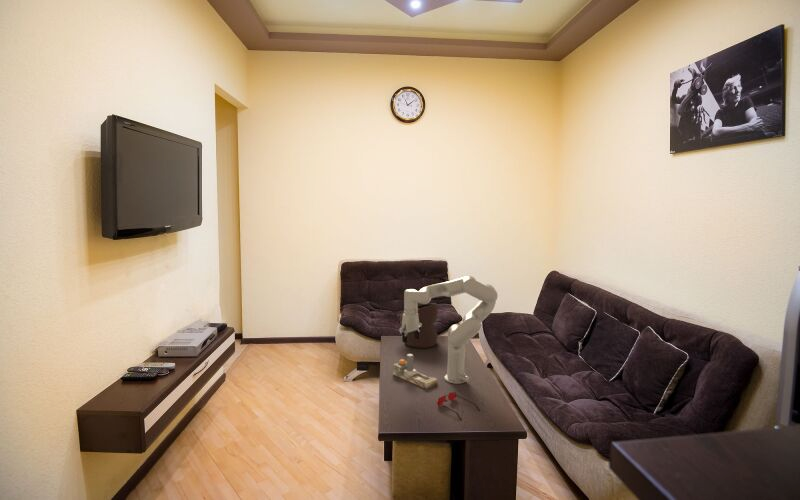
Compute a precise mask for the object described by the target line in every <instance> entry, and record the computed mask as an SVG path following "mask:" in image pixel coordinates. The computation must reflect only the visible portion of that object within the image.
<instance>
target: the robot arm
mask: <svg viewBox="0 0 800 500" xmlns="http://www.w3.org/2000/svg"><path fill="white" fill-rule="evenodd" d="M403 293H404V294H403V295H404V297H403V305H404V307H403V308H404V309H403V311H404V314H403V318H402V323H401V327H400V328H399V330H398V331H399V333H400V334H401V336H402V343H404V344H406V343H407V336H406V335H407V333H408V332H412V331H414V338H415V339H419V332H420V329H421V326H422V323H420V322H419V316H418V305H422V304H429V303H431V300H432V299H434V298H438V297H448V298H449V297H455V296H457V295H461V294H467V295H469V296H471V297H473V298H474V299H478V300H479V301H478V303H477V304H476V305H475V306H474V307H473V308H472V309H471V310H469V311H468V312H467V313H466V314H464V316H463V318H462V323H460V324H458V323H455V324H452V325H450V327H449V328H448V330H447V366H446V367H447V368H446V369H447V371H446V372H447V373H446V374H445V375H444V377H443V378H444V381H446V382H447V383H450V384H455V385H458V384H464V383H468V382H469V381H470V380H469V379H470V377H469V376H467V372H465V359H466V358H465V357H466V356H465V353H466V350H465V349H466V344H467V343H469V341H471V339H473V338H474V337H475V336H476V335H477V334H478V333H479V332H480V331H481V328H482V322H483V321H484V320H485V319H486V318H487V317H488V316H490V314H491V313H492V312H493V310H494V309H495V306H496V301H497V300H498V295H499V294H498V292H497V290H496V288H494V286H493V285H492V284H489V283H487V284H485V283H484V284H483V283H481V282H479V281H478V280H477V279H476V278H475V277H474V276H472V275H468V276H467V275H466V276H462V277H460V278H456V279H453V280H449V281H445V282H440V283H435V284H431V285H427V286H424V287H422V288H420V289H419V290H416V289H414V288H409V289H405V290H404V291H403ZM405 332H406V333H405Z"/></svg>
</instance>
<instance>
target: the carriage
mask: <svg viewBox="0 0 800 500" xmlns="http://www.w3.org/2000/svg"><path fill="white" fill-rule="evenodd" d="M414 358H415V357H414V354H412V353H407V354H406V361H407V369H405V370H404V373H405V374H407V375H409V376H413V375H416V372H417V369H415V368H414V361H415V360H414Z"/></svg>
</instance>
